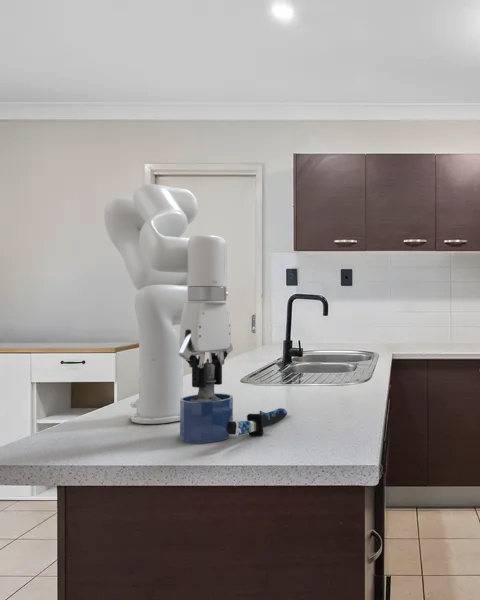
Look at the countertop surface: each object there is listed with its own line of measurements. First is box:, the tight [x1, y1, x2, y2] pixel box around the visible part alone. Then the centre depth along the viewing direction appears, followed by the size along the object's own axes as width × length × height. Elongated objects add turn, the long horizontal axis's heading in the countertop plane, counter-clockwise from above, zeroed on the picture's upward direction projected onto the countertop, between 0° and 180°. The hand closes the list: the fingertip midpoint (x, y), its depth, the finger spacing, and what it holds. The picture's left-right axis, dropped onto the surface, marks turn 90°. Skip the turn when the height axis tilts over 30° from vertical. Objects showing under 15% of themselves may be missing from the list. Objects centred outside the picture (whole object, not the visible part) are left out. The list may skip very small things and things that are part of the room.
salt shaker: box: [190, 358, 221, 402], centre depth 106 cm, size 6×6×12 cm
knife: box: [226, 407, 288, 437], centre depth 110 cm, size 31×3×4 cm, turn 169°
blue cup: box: [179, 392, 234, 444], centre depth 106 cm, size 10×10×8 cm
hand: (207, 384), depth 106 cm, fingers closed on salt shaker, 3 cm apart
